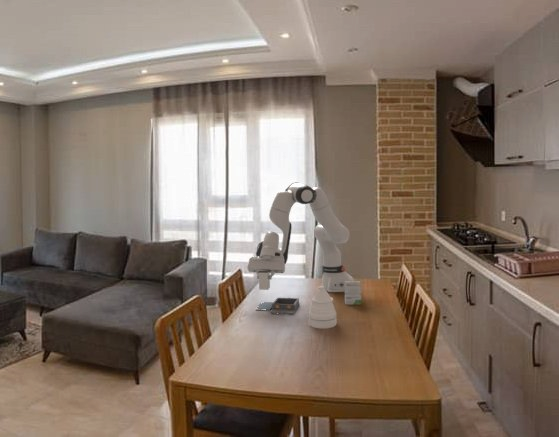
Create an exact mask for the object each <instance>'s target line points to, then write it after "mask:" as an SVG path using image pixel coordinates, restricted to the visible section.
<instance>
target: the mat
mask: <svg viewBox="0 0 559 437" xmlns="http://www.w3.org/2000/svg"><path fill="white" fill-rule="evenodd" d="M263 302H264V303H262V304H261V302H260V303H259V304H258V305H257V306H259V307H257V306H256V307H257V308H258V309H266V310H270V309H271V308H272V304H273V302H274V301H273V302H272V301H263ZM271 310H272V309H271ZM271 310H270V311H271Z"/></svg>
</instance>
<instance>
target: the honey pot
mask: <svg viewBox="0 0 559 437" xmlns="http://www.w3.org/2000/svg"><path fill="white" fill-rule="evenodd" d="M333 302H334V298H333V297H332V296H330V294H329V293H328V291H326V290H325V289H324V286H321V285H319V286H318V289H317V291H316V292H315V294H314V296H313V297H312V298H311V304H310V308H309V311H308V325H309V326H310V327H312V328H316V329H330V328H334V327H335V326H337V320H338V319H337V311H336V308H335V305H334V304H333Z"/></svg>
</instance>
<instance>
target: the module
mask: <svg viewBox="0 0 559 437" xmlns="http://www.w3.org/2000/svg"><path fill="white" fill-rule="evenodd" d="M270 274H271V273H270V271H269V269H260V270H259V279H258V286H259V287H258V289H259V290H261V291H262V290H265V291H269V290H270V289H271V282H270V281H271V280H270V279H268V275H270Z"/></svg>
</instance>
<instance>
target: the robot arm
mask: <svg viewBox="0 0 559 437" xmlns="http://www.w3.org/2000/svg"><path fill="white" fill-rule="evenodd" d="M295 203H299V204H301V205H309V207H310V209H311V212H312V214H313V216H314V219H315V221H316V222H317V223H318V225H316V226H315V227H314V229H313V235H314V237H315V239H316V240H317V242H318V243H319V246H320V249H321V250H320V251H321V254H322V256H321V257H322V265H321V275H322V280H321V285H320V286H324V289H325V290H326V291H327V292H329V293H345V281H355V279H354V277H353V276H351V275H350V274H349V273H348V272H346V267H345V265H342V253H341V251H340V249H339V248H338V247H337V245H338V244H345V243H347V242H348V241H349V239H350V230H349V229H348V228H347V227H346V226H345V225H344V224H342V223H341V222H340V220H339V219H338V217H336V214H335V212H334V211H333V209H332V206H331V204H330V201H329V199H328V197H327V195H326V193H325V191H324V190H323V189H322V188H321V187H317V186H316V187H315V186H314V187H311V186H309V185H307V184H305V183H301V182H293V183H290V184H289V185H288V187H287V188H286V189H285V190H279V191H278V192H277V193H276V196H275V197H274V200H273V201H272V204H271V207H270V209H269V214H268V215H269V219H270V222H272V223H273V224H274V225H275V227H276V228H279V230H280V231H282V241H281V247H279V245H280V244H279V243H280V236H279V234H278V233H277V232H275V231H267V232H265V235H264V237H263V241H261V242H259V243H258V244H257V248H256V252H255V256H254V255H253V256H252V257H249V259H248V263H247V266H246V267H247V271H248V272H249V273H256V279H257V280H259V270H260V269H269V271H270V275H268V279H270V281H271V280H272V278H273V277H274V275H275V274H284V273H285V272H286V263H288V257H289V247H290V242H291V234H292V222H290V213H291V210H292V208H293V206H294V204H295Z"/></svg>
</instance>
